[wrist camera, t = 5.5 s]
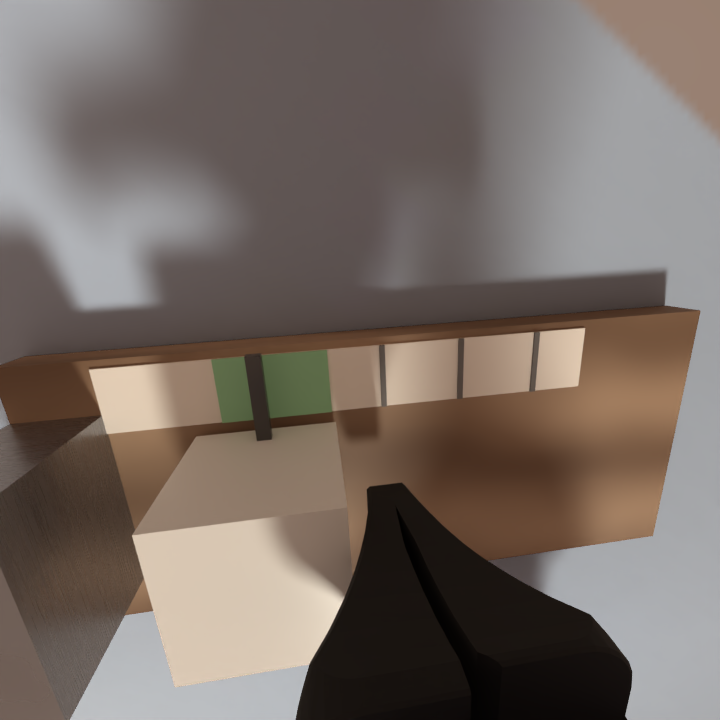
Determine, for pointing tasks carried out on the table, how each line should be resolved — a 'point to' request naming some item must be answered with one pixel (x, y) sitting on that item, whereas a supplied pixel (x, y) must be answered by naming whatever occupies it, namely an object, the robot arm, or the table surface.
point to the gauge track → (356, 444)
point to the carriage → (248, 547)
